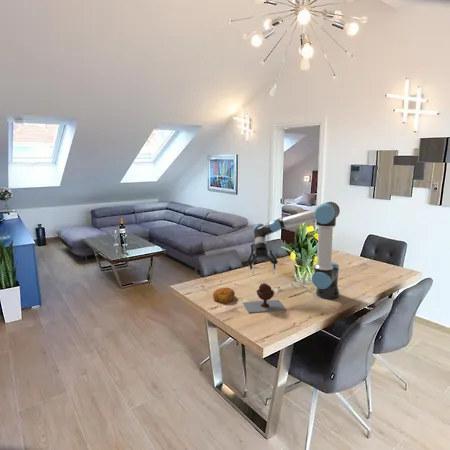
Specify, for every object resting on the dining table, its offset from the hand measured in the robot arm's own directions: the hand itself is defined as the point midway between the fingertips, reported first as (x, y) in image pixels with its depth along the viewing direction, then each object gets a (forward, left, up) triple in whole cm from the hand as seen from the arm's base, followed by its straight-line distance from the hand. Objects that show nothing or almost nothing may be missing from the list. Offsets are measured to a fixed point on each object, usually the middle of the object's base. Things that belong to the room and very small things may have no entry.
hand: (263, 273), depth 219 cm
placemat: (-3, +11, -18) cm, 21 cm away
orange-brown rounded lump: (+25, +5, -18) cm, 31 cm away
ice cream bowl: (-3, +11, -17) cm, 21 cm away
